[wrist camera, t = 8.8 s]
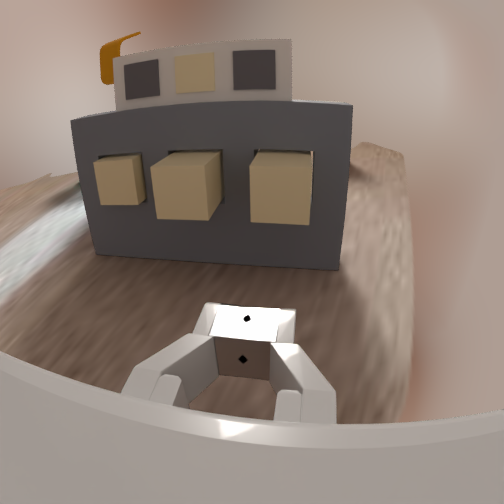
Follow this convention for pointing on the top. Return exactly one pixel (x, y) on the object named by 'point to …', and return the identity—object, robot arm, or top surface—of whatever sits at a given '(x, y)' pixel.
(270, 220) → the button right
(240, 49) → the panel
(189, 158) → the button mid
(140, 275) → the top surface
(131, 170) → the button left
